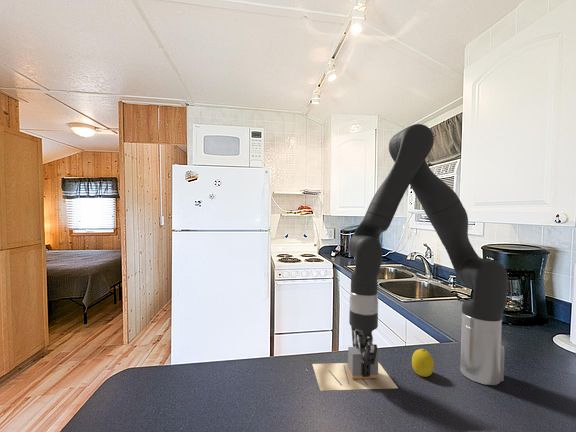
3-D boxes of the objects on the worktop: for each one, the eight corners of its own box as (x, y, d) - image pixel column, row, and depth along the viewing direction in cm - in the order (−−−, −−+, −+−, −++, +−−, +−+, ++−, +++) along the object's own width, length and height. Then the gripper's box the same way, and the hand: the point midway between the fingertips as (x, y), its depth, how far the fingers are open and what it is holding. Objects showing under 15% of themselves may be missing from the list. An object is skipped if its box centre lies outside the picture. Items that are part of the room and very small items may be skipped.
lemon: (430, 373, 78) (431, 345, 78) (435, 385, 73) (436, 355, 73) (409, 370, 80) (410, 343, 80) (413, 381, 74) (413, 352, 74)
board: (378, 366, 81) (378, 362, 81) (397, 392, 69) (398, 387, 69) (312, 368, 80) (312, 363, 80) (320, 395, 68) (320, 390, 68)
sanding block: (372, 369, 77) (372, 346, 77) (377, 377, 73) (378, 353, 73) (347, 370, 76) (348, 347, 76) (352, 378, 72) (352, 354, 72)
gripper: (388, 318, 68) (387, 387, 68) (367, 300, 82) (366, 357, 82) (359, 318, 67) (357, 388, 67) (342, 300, 81) (342, 357, 82)
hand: (362, 370), depth 75 cm, fingers closed on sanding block, 4 cm apart
